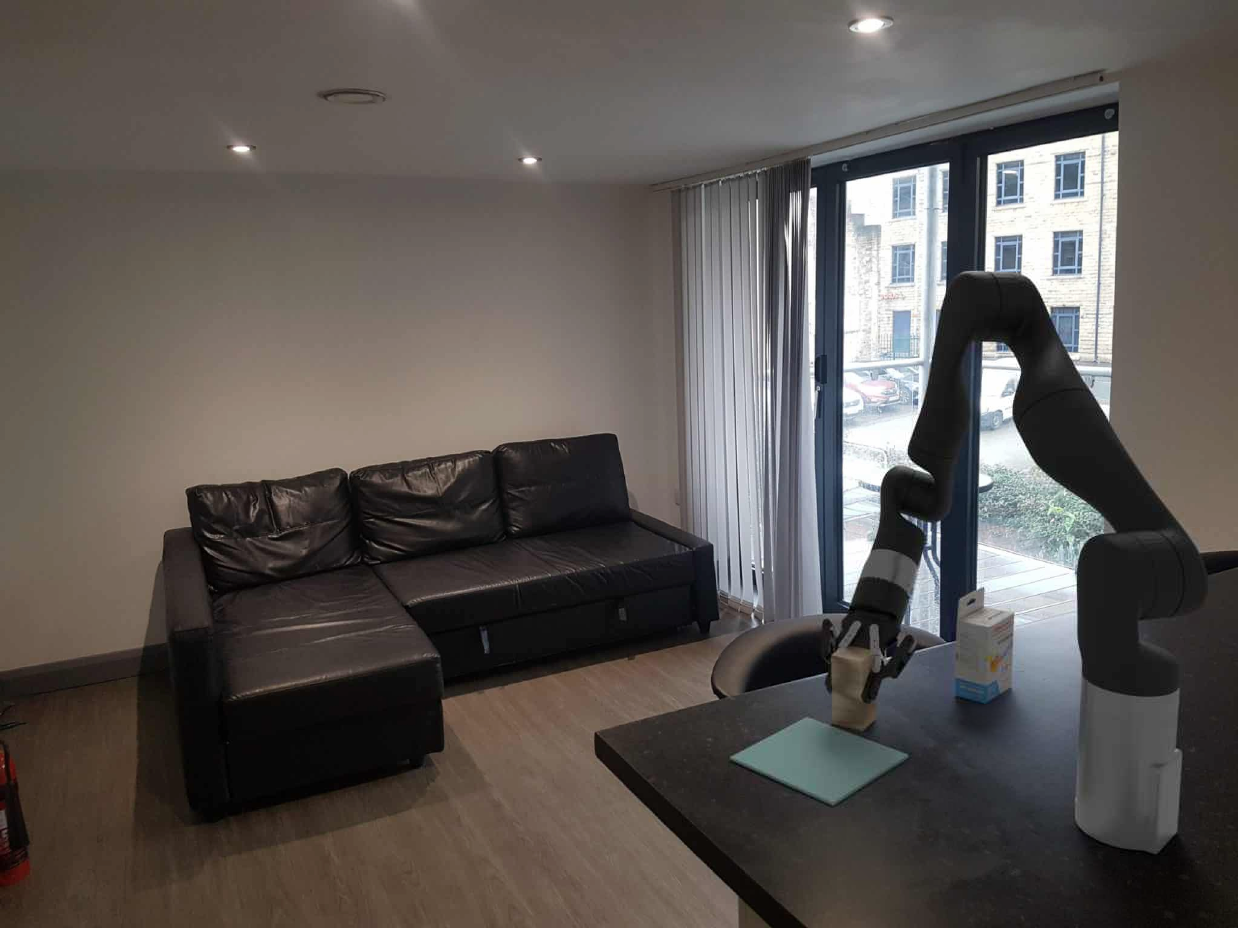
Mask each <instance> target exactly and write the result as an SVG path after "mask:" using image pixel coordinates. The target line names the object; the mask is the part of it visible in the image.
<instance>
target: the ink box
mask: <svg viewBox="0 0 1238 928" xmlns="http://www.w3.org/2000/svg"><path fill="white" fill-rule="evenodd" d="M971 600H974V602H973V603H971V604H969V605H968V603H969V602H971ZM1014 629H1015V612H1014V611H1013V612H1012V611H1008V610H1004V609H998V608H993V607H990V606H986V605H985V587H984V586H981V587H980V588H978V589H976V590H973V591H971V592H970V593H968V594H966V595H964V596H963V597H961V598H959V599H958V603H957V619H956V632H955V634H956V636H955V640H956V642H955V644H956V645H955V669H954V670H955V672H954V675H955V678H954V679H955V680H954V681H955V682H954V696H955V697H958V698H963V699H965V700H966V699H967V700H969V701H973V702H976V703H979V704H980V703H981V704H984V705H986V704H988V703H989V702H991V701H992V700H994V699H996V697H998V696H999V695H1001V694H1003V693H1004V692H1006V691H1007V690H1009V689H1011V688H1012V680H1013V679H1012V678H1013V655H1014V654H1013V651H1014V650H1013V649H1014V633H1015V632H1014Z"/></svg>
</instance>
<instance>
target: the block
mask: <svg viewBox="0 0 1238 928" xmlns="http://www.w3.org/2000/svg"><path fill="white" fill-rule="evenodd" d="M836 651H837V650H836ZM836 651H835V653H834V654H832V655H831V664H832V694H831V724H834V725H837V726H840V727H844V728H848V729H851V730H855V731H859V732H864V731H865V730H866V729H867V728H868V727H869V726H870V725H872V723H874V722H875V721H876V720H877V698H876V699H875V700H872V701H871V703H870V704H868V703H865V702H864V701H863V699H862V698H861V694H862V692H863V689H864V686H865V683H866V680H867V677H868V674H869V672H870V673H871V672H872V669H871V664H872V661H873V657H874V656H873V653H870V650H868V649H864V648H859V647H854V646H849V647H847V648H845V647H842V648H841V649H839V650H838V651H837V652H836Z"/></svg>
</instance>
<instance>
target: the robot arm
mask: <svg viewBox="0 0 1238 928" xmlns="http://www.w3.org/2000/svg"><path fill="white" fill-rule="evenodd" d="M972 342H973V343H1001V344H1004V345H1005V346H1007V347H1008V349H1009V350H1010V351H1011V352H1012V354H1013V356H1014V357H1015V359H1016V361H1017V364H1018V366H1019V368H1020V376H1019V380H1018V383H1017V385H1016V390H1015V393H1014V396H1013V400H1012V411H1011V412H1012V414H1011V415H1012V420H1013V423H1014V426H1015V429H1016V431H1017V432H1018V435H1019V437H1020V438H1021V440H1022V442H1023V444H1024V447H1026V449H1027V452H1028V454H1029V455H1030V457H1031V459H1032V460H1033V462H1034V463H1035V464H1036V466H1037V467H1038V468H1039V469H1040V470H1041V471H1042V472H1043V473H1044V474H1045V475H1047V476H1048V477H1049V478H1050V479H1052V480H1053V481H1054V482H1055V483H1057V484H1059V485H1060V486H1061V487H1062V488H1064V489H1065V490H1067V491H1069V492H1070V493H1072V494H1073V495H1075V496H1076V497H1077V498H1079V499H1080V500H1082V501H1083V502H1085V503H1086V504H1088V505H1089V506H1090V507H1092V508H1093V509H1094V510H1095V511H1097V512H1098V513H1099V514H1100V515H1101V516H1102V517H1103V518H1104V519H1105V520H1106V521H1107V523H1109V525H1110V526H1111V528H1112V529H1113V531H1114V532H1110V533H1101V534H1096V535H1093V536H1092V537H1089V539H1087V540H1086V541H1085V543H1084V544H1083V546H1082V547H1081V550H1080V552H1079V554H1078V559H1077V566H1076V612H1077V613H1076V615H1077V616H1076V617H1077V619H1076V620H1077V621H1076V622H1077V623H1076V625H1077V626H1076V632H1077V633H1076V636H1077V645H1078V648H1079V649H1078V650H1079V653H1080V658H1081V679H1080V680H1081V681H1080V699H1079V700H1080V701H1079V721H1078V722H1079V723H1078V743H1077V744H1078V745H1077V761H1076V762H1077V763H1076V765H1077V767H1076V785H1075V786H1076V790H1075V800H1074V801H1075V802H1074V805H1075V811H1074V813H1075V814H1074V819H1075V823H1076V825H1077V826H1078V828H1079V829H1081V830H1082V832H1084V833H1085V834H1086V835H1087V836H1089V837H1091V838H1093V839H1095V840H1097V841H1098V842H1101V843H1104V844H1107V845H1109V846H1112V847H1117V848H1120V849H1125V850H1133V851H1134V850H1136V851H1144V852H1148V853H1151V854H1154V855H1157V854H1158V853H1159V852H1161V850H1162V849H1163V848H1164V847H1165V846H1166V845H1167V844H1168V843H1169V841H1170V840H1171V839H1172V838H1173V837H1174V836H1175V835H1176V834H1177V832H1178V825H1179V824H1178V823H1179V809H1180V808H1179V807H1180V794H1181V793H1180V790H1181V779H1182V766H1183V765H1182V763H1183V759H1182V758H1183V752H1182V750H1181V749H1178V748H1176V745H1177V734H1178V733H1177V732H1178V717H1179V715H1178V714H1179V704H1180V703H1179V702H1180V687H1181V676H1182V675H1181V670H1182V668H1181V664H1180V662H1179V659H1178V658H1177V657H1176V656H1175V655H1174V654H1173V653H1172V652H1170V651H1169V650H1166V649H1165V648H1163V647H1160V646H1159V645H1155V644H1152V643H1149V642H1146V641H1143V640H1140V634H1139V621H1140V622H1141V621H1147V620H1148V621H1149V620H1151V621H1152V620H1157V619H1158V620H1160V619H1168V618H1169V619H1170V618H1177V617H1179V618H1180V617H1184V616H1188V615H1191V614H1195V613H1196V612H1198V611H1199V610H1200V609H1201V608H1202V607H1203V606H1204V605H1205V604H1206V602H1207V598H1208V595H1209V587H1210V585H1209V583H1210V582H1209V575H1208V571H1207V567H1206V565H1205V562H1204V560H1203V558H1202V555H1201V554H1200V553H1201V552H1200V551H1199V550H1198V548H1197V545H1196V544H1195V542H1193V540H1192V538H1191V537H1190V535H1189V534H1188V532H1187V531H1186V530H1185V529H1184V527H1183V526H1182V525H1181V523H1180V522H1179V521H1178V520H1177V518H1176V517H1175V516H1174V515H1173V514H1172V512H1171V511H1170V510H1169V508H1168V507H1167V506H1166V505H1165V503H1164V502H1163V501H1162V499H1161V498H1160V497H1159V496H1158V494H1157V493H1156V491H1154V489H1153V488H1152V486H1151V485H1150V484H1149V482H1148V481H1147V480H1146V477H1144V475H1143V474H1142V472H1141V471H1140V470H1139V468H1138V465H1136V463H1135V461H1134V460H1133V459H1132V457H1131V455H1130V454H1129V452H1128V450H1126V448H1125V447H1124V445H1123V443H1122V442H1121V440H1120V438H1119V437H1118V435H1117V433H1116V431H1115V430H1114V428H1113V427H1112V424H1111V422H1110V421H1109V419H1108V416H1107V414H1106V413H1105V411H1104V410H1103V409H1102V407H1101V405H1100V404H1099V402H1098V400H1097V398H1096V397H1095V395H1094V394H1093V392H1092V391H1091V390H1090V388H1089V386H1088V385H1087V383H1086V382H1085V381H1084V379H1083V377H1082V376H1081V374H1080V372H1079V371H1078V369H1077V367H1076V365H1075V363H1074V361H1073V359H1072V357H1071V356H1070V354H1069V352H1068V351H1067V349H1066V348H1065V345H1064V344H1063V342H1062V339H1061V337H1060V336H1059V333H1058V331H1057V329H1056V327H1055V325H1054V322H1053V319H1052V317H1051V315H1050V313H1049V310H1048V308H1047V305H1046V304H1045V301H1044V298H1043V297H1042V295H1041V293H1040V291H1039V289H1038V288H1037V286H1036V284H1035V283H1034V282H1033V280H1031V279H1030V277H1028V276H1026V275H1024V274H1021V273H1017V272H1011V271H1009V272H1008V271H1007V272H1006V271H988V270H987V271H985V270H967V271H963V272H960V273H959V274H957V275H956V276H955V277H954V278H953V279H952V280H951V281H950V283H949V285H948V287H947V290H946V292H945V294H944V298H943V300H942V303H941V307H940V311H939V317H938V321H937V326H936V333H935V338H934V344H933V347H932V354H931V355H932V356H931V360H930V368H929V372H928V373H929V374H928V379H927V384H926V389H925V394H924V397H923V401H922V406H921V408H920V410H919V414H918V416H917V419H916V422H915V425H914V428H913V431H912V434H911V436H910V439H909V441H908V444H907V450H906V451H907V452H906V453H907V456H908V458H909V460H910V461H912V463H914V465H916V466H917V467H919V468H920V469H922V470H923V471H922V470H919V469H918V470H917V469H915V468H912V467H909V466H906V465H895V466H893V467H891V468H890V469H889V470H888V471H886V472H885V474H884V475H883V477H882V480H881V485H880V494H879V496H880V498H879V499H880V500H879V501H880V502H879V509H880V510H879V522H878V528H877V531H876V535H875V538H874V540H873V543H872V546H871V549H870V552H869V555H868V557H867V559H866V560H865V563H864V565H863V567H862V570H861V573H860V576H859V578H858V581H857V584H856V587H855V589H854V592H853V595H852V598H851V601H850V604H849V607H848V612H847V614H846V615H845V616H844V617H843V618H842V620H841V621H831V620H830V619H829V618H824V619H823V620H822V623H821V624H822V625H821V640H820V641H821V643H820V655H821V657H822V658H823V660H824V661H825V662H826V664H828V665H829V669H828V671H827V674H826V677H825V680H824V686H825V687H826V690H827V692H828V694H829V695H832V664H831V655H832V654H834V653H835V652H837V651H838V650H839V649H841V648H842V647H845V648H847V647H849V646H854V647H859V648H864V649H868V650H870V653H873V656H874V657H873V661H872V664H871V669H872V672H871V673H870V672H869V674H868V677H867V680H866V683H865V686H864V689H863V692H862V694H861V698H862V699H863V701H864V702H865V703H868V704H870V703H871V701H872V700H875V699H876V700H877V696H878V694H879V690H880V688H881V685H882V682H883V680H884V679H888V678H892V679H893V680H896V679H897V678H899V676H900V675H901V673H902V672H903V670H904V669H905V668H906V666H907V665H908V663H909V662H910V660H911V659H912V658H913V655H914V654H916V653H915V652H916V651H917V650H918V647H919V644H917V641H916V640H915V638H914V636H913V635H911V634H904V633H902V631H901V627H902V624H903V621H904V618H905V615H906V612H907V609H908V606H909V603H910V599H911V597H912V595H913V593H914V587H915V585H916V577H917V572H918V569H919V565H920V562H921V560H922V559H921V558H922V555H923V552H924V549H925V547H926V542H927V535H926V533H925V532H924V531H923V530H922V528H920V527H919V526H918V525H916V524H915V523H913V522H911V521H910V520H908V519H907V518H905V517H904V516H903V515H905V516H907V517H910V518H911V517H912V518H914V519H917V520H919V521H922V522H926V523H930V524H935V523H939V522H941V521H942V520H944V518H946V517H947V516H948V514H949V512H950V510H951V508H952V504H953V495H954V491H953V490H954V489H953V488H954V487H953V486H954V471H955V467H956V462H957V459H958V456H959V454H960V451H961V448H962V446H963V443H964V441H965V438H966V436H967V433H968V430H969V426H970V423H971V403H970V401H969V396H968V392H967V389H966V386H965V382H964V377H963V362H964V359H965V358H964V357H965V356H966V353H967V351H968V349H969V346H970V345H971V343H972ZM841 631H842V632H843V634H844V637H843V638H842V639H841V640H840V642H839V644H838V648H837V649H836V638H838V637H839V635H840V633H841ZM894 644H896V646H897V648H896V649H895V651H894V653H893V654H892V656H891V657H890V658H889V660H888V662H887V650H888V649H889V648H891V647H892V646H893V645H894ZM835 649H836V650H835Z"/></svg>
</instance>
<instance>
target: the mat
mask: <svg viewBox="0 0 1238 928" xmlns="http://www.w3.org/2000/svg"><path fill="white" fill-rule="evenodd" d="M729 757H730V758H729V759H730V761H732V762H734V763H737V764H738V765H741V766H742V767H745V768H747V769H750V770H752V771H755V772H757V773H759V774H760V775H764V776H766V777H769V778H771V779H772V780H775V781H777V782H780V783H781V784H783V785H786V786H787V787H790V788H792V789H794V790H797V791H799V792H802V793H804V794H806V795H807V796H810V797H812V798H815V799H817V800H819V801H822V802H824V803H826V804H828V805H831V806H833V807H834V806H835V805H837V804H838V803H840V802H841V801H843V800H845V799H846V798H848V797H849V796H851V795H853V794H855V793H856V792H857V791H858V790H860V789H862V788H863V787H865V786H867V785H869V784H870V783H871V782H873V781H874V780H876V779H878V778H879V777H881V776H882V775H884V774H886V772H888V771H890V770H892V769H893V768H895V767H896V766H897V765H900V764H901V763H902V762H905V761H906V760H907V759H908V758H909V754H908V753H904V752H902V751H899V750H897V749H894V748H891V747H888V746H886V745H883V744H880V743H878V742H875V741H874V740H873V741H872V740H870V739H868V738H864V737H862V736H859V735H856V734H853V733H851V732H848V731H846V730H844V729H840V728H838V727H835V726H832V725H829V724H827V723H825V722H821V721H819V720H816V719H814V718H810V717H809V716H806V717H804V718H802V719H800V720H799V721H796V722H794V723H793V724H791V725H789V726H787V727H785V728H783V729H781V730H779V731H778V732H775V733H773V734H772V735H770V736H768V737H766V738H764V739H762V740H760V741H758V742H756V743H754V744H752V745H751V746H749V747H747V748H745V749H743V750H741V751H740V752H737V753H735V754H734V755H731V756H729Z"/></svg>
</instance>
